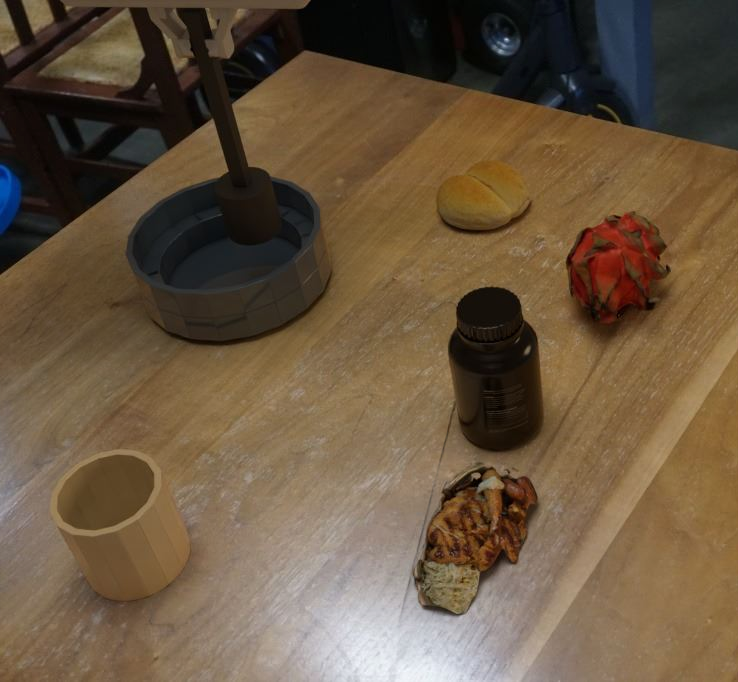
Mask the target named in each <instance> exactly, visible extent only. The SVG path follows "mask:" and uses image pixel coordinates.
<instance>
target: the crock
mask: <svg viewBox="0 0 738 682" xmlns="http://www.w3.org/2000/svg"><path fill="white" fill-rule="evenodd" d="M49 500H50V501H49V510H48V511H49V515H50V517H51V518H52V521H53V522H54V524H55V526H56V527H57V529H58V532H59V533H60V535H61V536H62V538H63V540H64V542H65V544H66V545H67V547H68V549H69V551H70V552H71V555H72V556H73V557H74V559H75V561H76V563H77V565H78V567H79V568H80V570H81V571H82V574H83V575H84V577H85V579H86V580H87V582H88V584H89V586H90V587H91V589H92V591H94V592H96V594H98V595H99V596H101V597H103V598H105V599H108V600H111V601H117V602H129V601H136V600H140V599H144V598H148V597H150V596H153V595H154V594H157V593H158V592H160V591H161V590H163V589H165V588H167V586H169V585H170V584H172V582H174V581H175V579H177V577H178V576H179V575H180V574H181V573H182V571H184V568H185V567H186V565H187V563H188V560H189V557H190V554H191V537H190V534H189V531H188V529H187V527H186V525H185V522H184V520H183V517H182V515H181V513H180V511H179V509H178V506H177V504H176V501H175V499H174V497H173V495H172V493H171V490H170V488H169V486H168V483H167V481H166V478H165V475H163V471H162V470H161V468H160V467H159V465H158V464H157V462H156V460H155V459H154V458H153V457H151V456H149V455H147V454H145V453H143V452H142V451H139V450H135V449H134V450H133V449H121V448H118V449H117V448H116V449H112V450H107V451H102V452H99V453H95V454H93V455H91V456H89V457H88V458H86V459H84V460H81V461H79V462H78V463H77V462H76V464H74V465H73V466H72V467H71V468H70V469H69V470H68V471H67V472H65V473H64V475H62V476H61V477H60V479H58V482H57V483H56V485H55V487H54V489H53V491H52V492H51V494H50V498H49Z"/></svg>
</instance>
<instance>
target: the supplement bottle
mask: <svg viewBox="0 0 738 682" xmlns="http://www.w3.org/2000/svg"><path fill="white" fill-rule="evenodd" d="M455 315H456V317H455V319H456V327H455V329H453V331H452V333H451V335H450V336H449V339H448V342H447V355H448V362H449V369H450V375H451V381H452V389H453V394H454V402H455V407H456V414H457V420H458V423H459V427H460V429H461V432H462V433H463V434H464V435H465V437H466V438H467V439H468V440H470V441H471V442H472V443H474V444H475V445H478V446H480V447H483V448H487V449H492V450H504V449H505V450H507V449H511V448H514V447H518V446H520V445H523V444H525V443H526V442H528V441H529V440H530V439H532V438H533V437H534V436H535V435H536V434H537V432H539V430H540V428H541V426H542V423H543V421H544V397H543V385H542V372H541V360H540V358H541V357H540V346H539V339H538V335H537V332H536V330H535V329H534V328H533V326H532V325H531V323H529V321H527V320H526V319H525V318H524V315H523V308H522V303H521V300H520V298H519V297H518V295H516V294H515V292H513V291H511V290H510V289H506V288H504V287H500V286H484V287H479V288H475V289H473V290H472V291H469V292H467V293H466V294H464V295H463V296H462V297H461V298H460V299H459V301H458V302H457V305H456V307H455Z"/></svg>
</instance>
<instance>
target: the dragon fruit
mask: <svg viewBox="0 0 738 682" xmlns="http://www.w3.org/2000/svg"><path fill="white" fill-rule="evenodd" d="M636 212H637V211H635V210H634V211H627V212H626V213H624V214H623V215H622V216H621V215H617V214H611V215H609V216H608V215H607V216H605V217H604V219H603V222H602V223H600V224H597V225H596V226H594V227H589V226H587V227H585V228H583V229H581V230H580V231H579V232H578V233H577V235H576V238H575V241H574V243H573V246H572V247H571V249H570V251H569V253H568V254H567V255H566V259H565V269H566V271H567V277H568V278H567V279H568V288H569V294H570V296H571V298H574V297H575V299H576V301H577V302H578V303H579V304H580V306H581V307H582V308H583V309H584V310H585V311H587V312H588V313H589V320H591V321H592V322H594V323H596V319H598V322H599V323H600V324H602V325H608V324H611V323H613V322H618V321H620V319H622V317H623V316H624V314H625V311H622V312H619V310H621V309H622V308H623V307H625V306H628V304H632V305H634V306H635V307H637V310H639V311H649V312H650V311H653V310H654V309H656V307H657V306H658V305H659V304H660V303H661V301H662V298H661V297H657V296H656V297H651V291H650V280H655V281H661V280H665V279H666V278H667V277H668V276H670V274H671V272H672V268H671V266H670V265H669V264H665V268H664V267H663V266H662V265H661V263H660V261H661V256H660V255H662V254H663V253H664V252H665V251H666V250H667V247H668V244H666V241H665V240H664V239H663V238H662V237H661V236H660V233H661V232H660V229H659V228H658V227H657V226H656V225H654V224H653V223H652V222H651V221H648V218H646V217H645V216H643V215H638V214H637V213H636Z"/></svg>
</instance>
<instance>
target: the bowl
mask: <svg viewBox="0 0 738 682" xmlns="http://www.w3.org/2000/svg"><path fill="white" fill-rule="evenodd" d="M270 177H271V181H272V185H273V189H274V193H275V197H276V201H277V204H278V208H279V212H280V216H281V220H282V229H281V231H280V233H279V234H278V235H277V236H276V237H274V238H273V239H271V240H270V241H268V242H265V243H262V244H259V245H252V246H246V245H240V244H237V243H235V242H233V241H232V240H231V239H230V238H229V235H228V232H227V229H226V225H225V222H224V219H223V216H222V212H221V209H220V206H219V202H218V199H217V196H216V193H215V189H214V188H215V183H216V181H217V180H218V179H219V178H220V177H214V178H209V179H206V180H204V181H201V182H198V183H195V184H191V185H189V186H185V187H182V188H181V189H179V190H177V191H174V192H173V193H171V194H169V195H168V196H166V197H164V198H162V199H160V200H159V201H157V202H156V203H155V204H154V205H153V206H151V207H150V209H148V210H147V211H146V212H145V213H144V214H142V215H141V216H140V217H139V219H137V221H136V223H135V225H134V226H133V228H132V229H131V231H130V233H128V236H127V240H126V249H125V258H126V261H127V263H128V265H129V268H130V270H131V273H132V276H133V278H134V281H135V283H136V286H137V289H138V291H139V294H140V295H141V296H140V297H141V299H142V302H143V304H144V306H145V309H146V311H147V313H148V315H149V317H150V319H152V320H153V321H154V322H155V323H156V324H158V325H159V326H160V327H161V328H163V330H165V331H166V332H169V333H172V334H175V335H177V336H180V337H184V338H186V339H188V340H189V339H190V340H196V341H197V340H198V341H216V342H225V341H229V340H230V341H231V340H237V339H243V338H249V337H250V338H251V337H254V336H256V335H259V334H262V333H265V332H267V331H270V330H273V329H275V328H278V327H281V326H282V325H284V324H285V323H287V322H288V321H290V320H292V319H293V318H295V317H296V316H298V315H299V314H301V313H303V312H305V311H306V310H307V309H308V308H309V307H310V306H311V305H312V303H313V302H314V301H315V300H316V299H318V297H319V296H320V295H321V294H322V293H323V292H324V290H325V288H326V286H327V282H328V280H329V278H330V275H331V273H332V263H331V251H330V247H329V242H328V239H327V233H326V230H325V225H324V221H323V217H322V212H321V208H320V206H319V204H318V203H317V202H316V200H315V198H314V197H313V196H312V194H311V193H310V192H309V191H308V190H306V189H304V188H303V187H301V186H299V185H298V184H296V183H294V182H293V181H291V180H287V179H283V178H279V177H275V176H271V175H270Z"/></svg>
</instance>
